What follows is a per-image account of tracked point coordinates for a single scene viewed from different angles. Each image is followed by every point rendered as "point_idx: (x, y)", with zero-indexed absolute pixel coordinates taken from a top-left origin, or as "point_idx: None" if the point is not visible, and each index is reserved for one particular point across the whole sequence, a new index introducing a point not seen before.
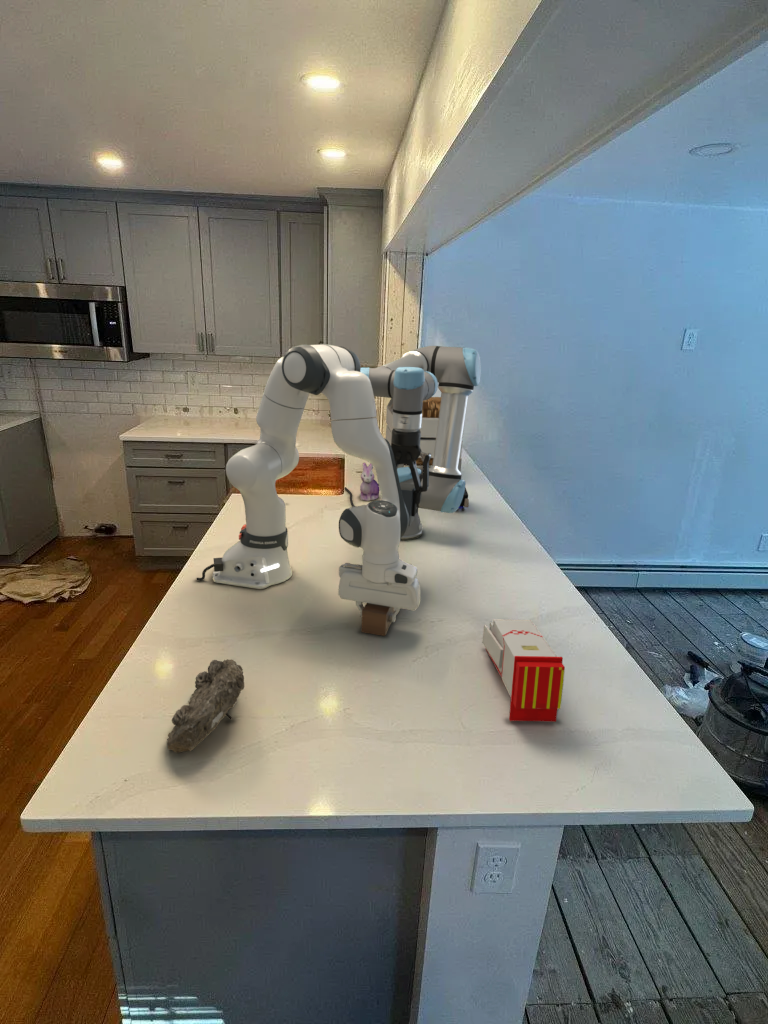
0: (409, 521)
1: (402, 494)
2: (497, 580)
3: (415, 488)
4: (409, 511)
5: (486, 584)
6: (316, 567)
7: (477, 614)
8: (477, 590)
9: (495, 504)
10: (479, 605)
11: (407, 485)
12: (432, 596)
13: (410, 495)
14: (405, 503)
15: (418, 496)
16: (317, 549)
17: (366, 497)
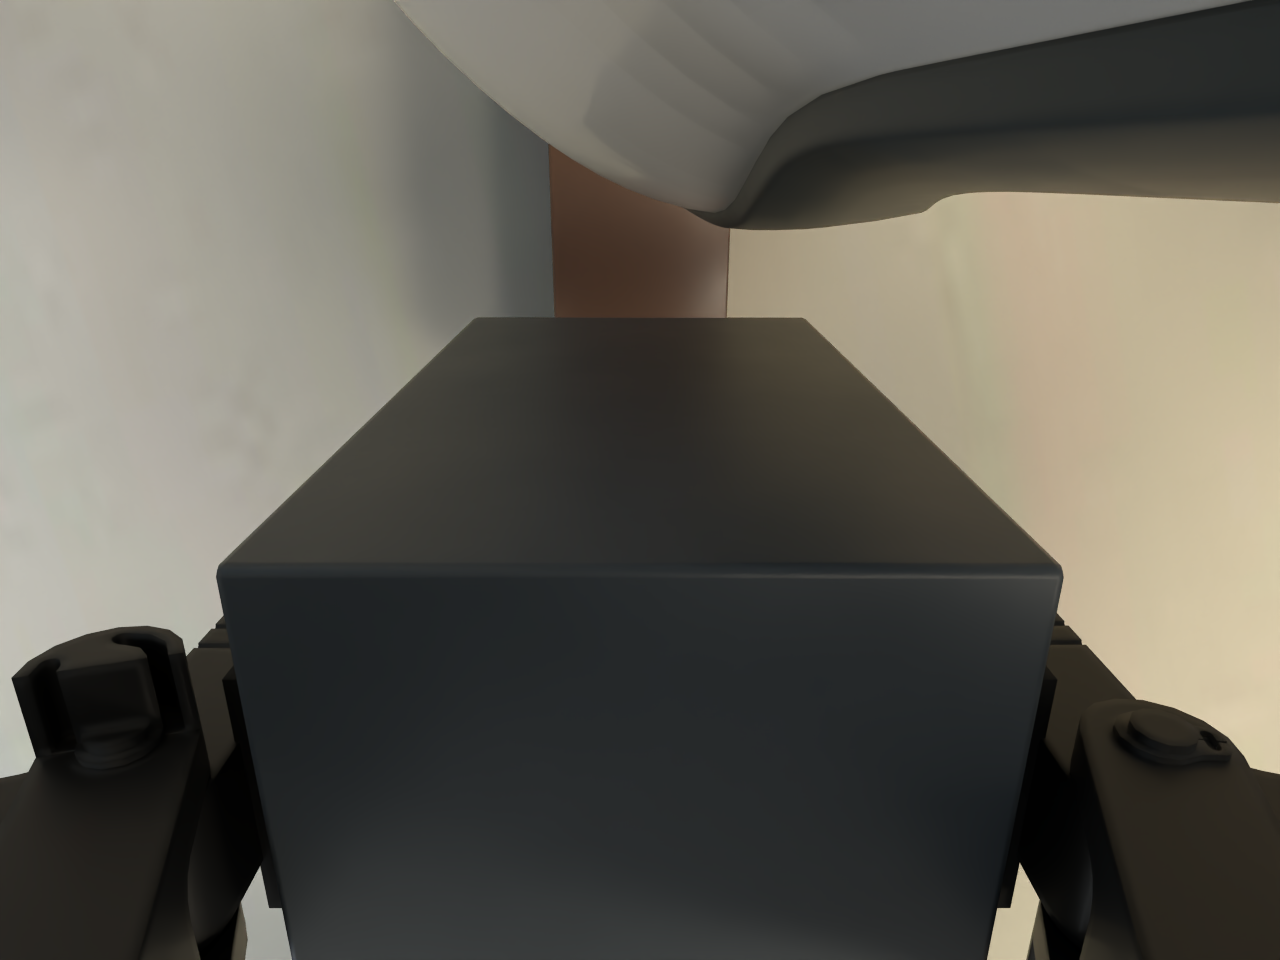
0: (468, 333)
1: (577, 501)
2: (67, 599)
3: (169, 799)
4: (438, 370)
5: (111, 528)
6: (1243, 407)
7: (24, 88)
8: (136, 430)
9: None
10: (56, 226)
11: None
12: (382, 248)
13: (320, 498)
14: (507, 418)
15: (209, 678)
16: (1268, 658)
17: None
